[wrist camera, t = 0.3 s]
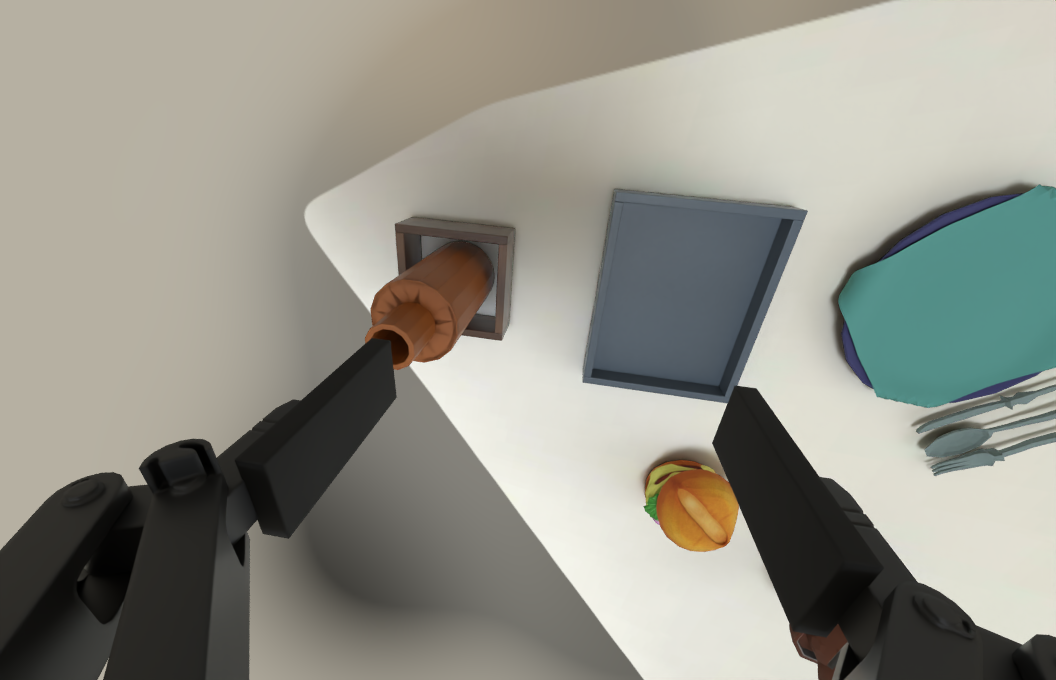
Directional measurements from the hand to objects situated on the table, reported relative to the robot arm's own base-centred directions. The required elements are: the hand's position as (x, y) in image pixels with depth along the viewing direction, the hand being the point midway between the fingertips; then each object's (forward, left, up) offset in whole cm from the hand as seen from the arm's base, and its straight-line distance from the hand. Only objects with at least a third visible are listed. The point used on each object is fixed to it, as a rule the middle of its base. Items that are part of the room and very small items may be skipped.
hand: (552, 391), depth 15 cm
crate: (+4, -11, -26) cm, 28 cm away
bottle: (+4, -11, -26) cm, 28 cm away
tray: (+4, +11, -26) cm, 28 cm away
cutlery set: (+5, +39, -26) cm, 47 cm away
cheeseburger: (+28, +18, -26) cm, 42 cm away
